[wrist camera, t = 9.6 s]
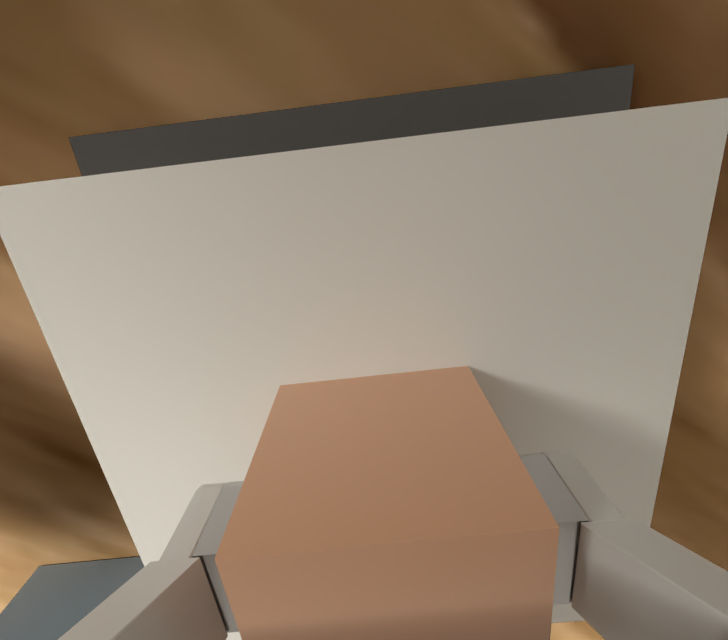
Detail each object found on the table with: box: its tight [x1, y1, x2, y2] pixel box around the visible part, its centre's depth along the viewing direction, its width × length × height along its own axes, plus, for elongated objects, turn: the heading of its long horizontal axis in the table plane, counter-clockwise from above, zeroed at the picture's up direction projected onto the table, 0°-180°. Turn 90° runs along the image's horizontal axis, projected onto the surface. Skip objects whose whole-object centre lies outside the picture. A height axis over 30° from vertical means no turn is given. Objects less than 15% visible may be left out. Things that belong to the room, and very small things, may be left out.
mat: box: [68, 64, 635, 176], centre depth 13 cm, size 15×15×1 cm
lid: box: [0, 98, 728, 640], centre depth 8 cm, size 13×13×5 cm
